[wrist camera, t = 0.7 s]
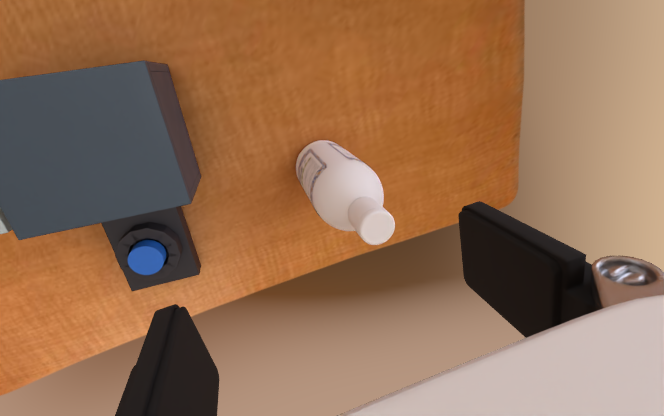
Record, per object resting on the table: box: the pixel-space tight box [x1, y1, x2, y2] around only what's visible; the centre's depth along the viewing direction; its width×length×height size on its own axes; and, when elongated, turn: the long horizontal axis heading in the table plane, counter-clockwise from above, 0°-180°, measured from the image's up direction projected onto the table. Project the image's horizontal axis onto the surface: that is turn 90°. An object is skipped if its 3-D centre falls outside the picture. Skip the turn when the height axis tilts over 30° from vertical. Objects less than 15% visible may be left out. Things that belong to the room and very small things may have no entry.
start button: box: [128, 240, 167, 275], centre depth 38 cm, size 4×4×2 cm
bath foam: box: [296, 140, 395, 245], centre depth 35 cm, size 7×7×20 cm
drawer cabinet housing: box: [0, 61, 201, 240], centre depth 33 cm, size 15×13×10 cm
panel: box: [102, 206, 201, 291], centre depth 41 cm, size 10×8×4 cm
